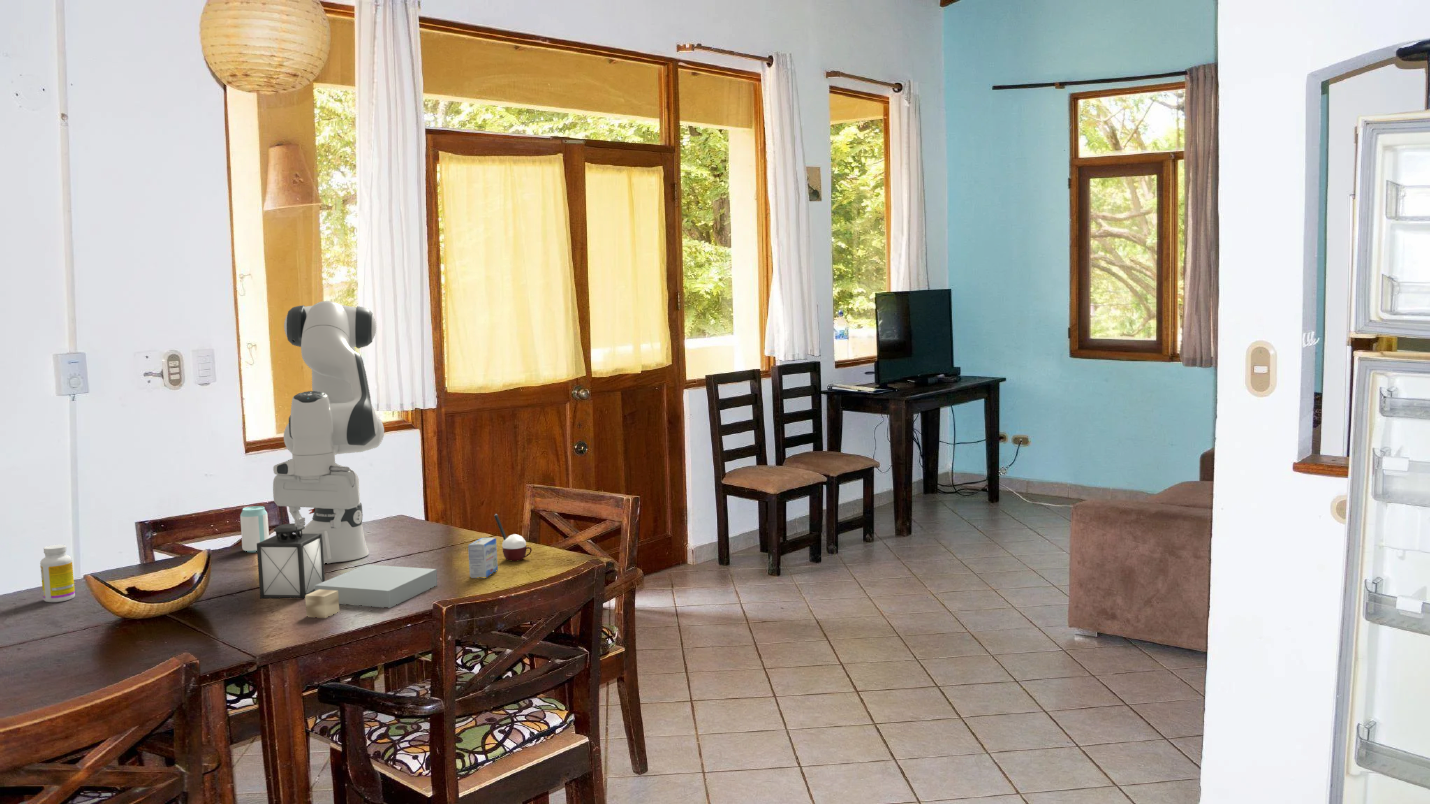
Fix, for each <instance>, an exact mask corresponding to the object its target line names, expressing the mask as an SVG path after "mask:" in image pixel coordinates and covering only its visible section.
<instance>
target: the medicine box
mask: <svg viewBox="0 0 1430 804" xmlns="http://www.w3.org/2000/svg"><path fill="white" fill-rule="evenodd" d="M497 546H498V545H497V538H496V537H480V538H478V539H477V540H475V541H474V542H471V543H469V544H468V545H467V547H468V548H467V550H468V551H467V553H468V568H469V578H470V577H471V578H470V579H478V578H477V577H487V578H489V577H490V576H491V575H490V574H492V573H493V572H495V573H496V572H497V571H498V569H499V568H498V567H499V566H498V551H497ZM496 570H497V571H496ZM493 574H494V573H493ZM493 574H492V575H493ZM489 575H490V576H489ZM488 576H489V577H488Z"/></svg>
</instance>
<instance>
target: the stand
mask: <svg viewBox="0 0 1430 804" xmlns="http://www.w3.org/2000/svg"><path fill="white" fill-rule="evenodd" d="M437 574H438V571H437V568H426V567H423V568H422V567H411V566H410V567H409V566H396V565H395V566H393V565H391V566H390V565H381V564H380V565H378V564H364V565H362V566H359V567H357V568H354V569H351V570H349V571H347V572H344V573H342V574H339V575H337V576H335V577H332V578H330V579H328V580H325V581H324V582H322V583H319V584H317V585H315V591H317V590H319V589H322V590H335V591H338V597H339V605H346V604H354V605H353V606H359V605H362V606H361V607H371V606H372V607H374V608H384V607H388V609H390V608H392V607H393V608H394V607H395V606H397V605H399V604H401V603H403V602H405V601H407V600H409V599H412V598H414V597H415V596H418V595H420V594H422V593H425V592H427V591H428V590H431V589H432V588H435V587H436V586H438V575H437ZM434 586H435V587H434ZM430 588H431V589H430ZM396 604H397V605H396ZM372 607H371V608H372Z"/></svg>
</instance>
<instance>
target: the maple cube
mask: <svg viewBox="0 0 1430 804" xmlns="http://www.w3.org/2000/svg"><path fill="white" fill-rule="evenodd" d="M304 600H305V612H306V613H305V615H306V616H308V617H307V618H315V617H317V619H327V618H329V617H328V616H330V617H331V616H333V614H334V615H336V614H338V613H340V604H339V597H338V591H335V590H322V589H319V590H317V591H314V592H312V593H309V594H307V595H305V599H304ZM337 612H338V613H337Z"/></svg>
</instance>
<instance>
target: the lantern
mask: <svg viewBox="0 0 1430 804" xmlns="http://www.w3.org/2000/svg"><path fill="white" fill-rule="evenodd" d="M282 507H283V506H280V517H281V524H280V525H278V526H276V527H275V528H274V529H273V532H275V533H276V534H275V535H273V536H271V537H269V539H266V540H264V541H262V542H260V543H257V552H256V554H257V555H256V556H257V569H258V583H259V584H258V585H259V599H280V598H305V595H307V594H309V593H312V592H314V591H315V585H317V584H319V583H322V582H324V581H326V577H325V575H326V574H325V564H324V556H323V539H322V533H319V534H302V530H303V529H304V528H305V526H306V525H305V526H302V527H296V526H295V522H294V523H293V522H291V523H283V510H282V509H283V508H282ZM300 531H301V534H300Z"/></svg>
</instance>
